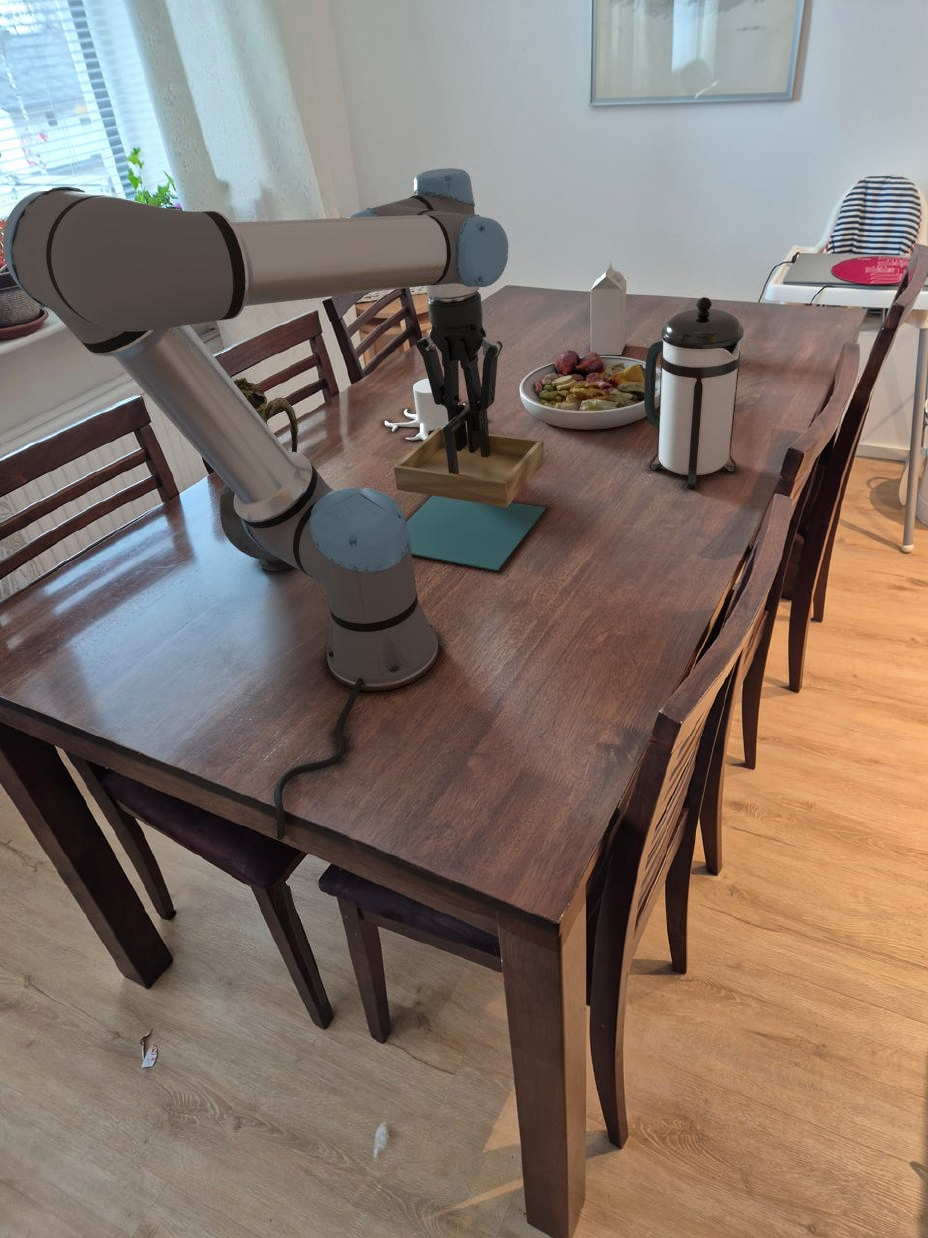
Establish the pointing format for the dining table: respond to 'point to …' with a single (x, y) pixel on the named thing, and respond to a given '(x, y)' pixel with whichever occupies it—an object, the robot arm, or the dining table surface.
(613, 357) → the bowl
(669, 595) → the dining table surface
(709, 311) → the coffee press
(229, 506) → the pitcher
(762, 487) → the dining table surface
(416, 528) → the mat
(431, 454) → the tray
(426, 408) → the tree stump
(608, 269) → the milk carton
